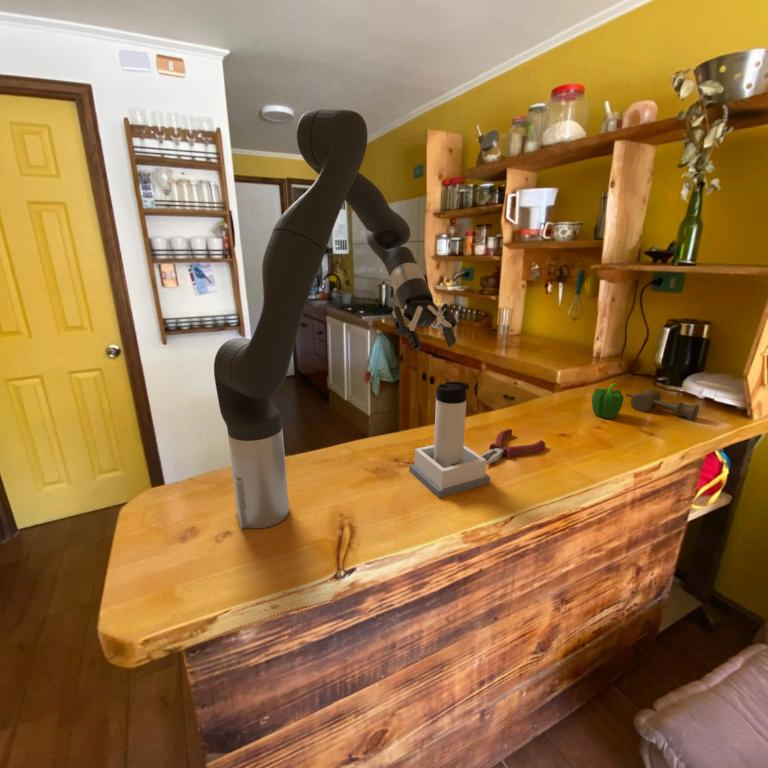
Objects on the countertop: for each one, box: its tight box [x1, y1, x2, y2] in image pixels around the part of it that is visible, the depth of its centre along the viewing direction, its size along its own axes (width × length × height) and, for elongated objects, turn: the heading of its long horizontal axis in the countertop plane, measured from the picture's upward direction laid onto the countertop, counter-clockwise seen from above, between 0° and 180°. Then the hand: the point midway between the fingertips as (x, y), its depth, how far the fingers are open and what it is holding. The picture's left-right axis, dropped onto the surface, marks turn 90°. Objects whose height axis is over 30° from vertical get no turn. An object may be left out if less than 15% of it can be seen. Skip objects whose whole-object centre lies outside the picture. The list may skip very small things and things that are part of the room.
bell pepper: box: [591, 382, 624, 420], centre depth 124 cm, size 8×8×10 cm
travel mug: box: [433, 381, 470, 468], centre depth 88 cm, size 6×7×20 cm
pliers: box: [480, 428, 546, 466], centre depth 102 cm, size 12×20×3 cm, turn 131°
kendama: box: [624, 388, 700, 422], centre depth 128 cm, size 6×10×20 cm
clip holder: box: [408, 444, 491, 499], centre depth 90 cm, size 13×12×6 cm
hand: (435, 346), depth 89 cm, fingers open, 8 cm apart
